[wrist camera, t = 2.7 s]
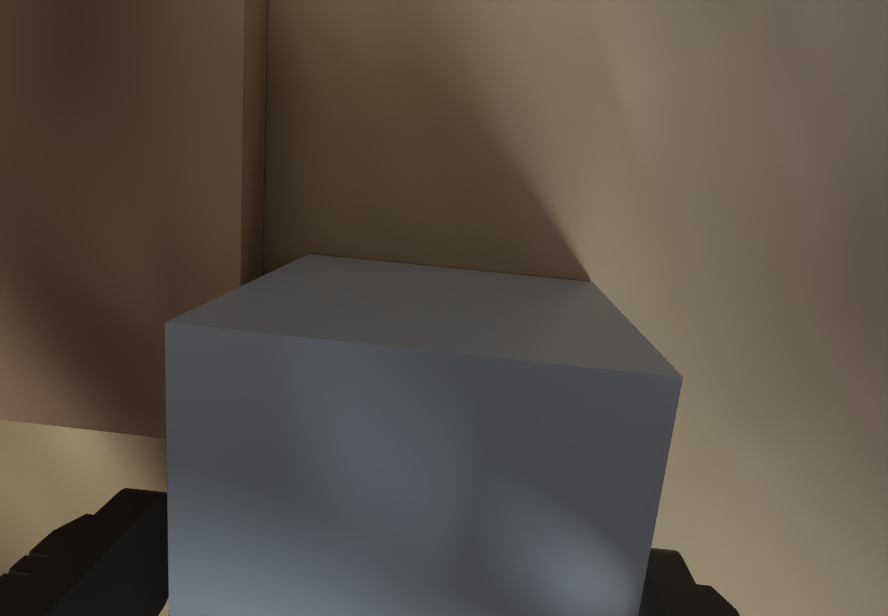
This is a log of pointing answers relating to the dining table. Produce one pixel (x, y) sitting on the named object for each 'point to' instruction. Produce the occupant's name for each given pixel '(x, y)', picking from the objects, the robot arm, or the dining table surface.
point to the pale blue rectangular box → (412, 445)
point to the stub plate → (121, 194)
